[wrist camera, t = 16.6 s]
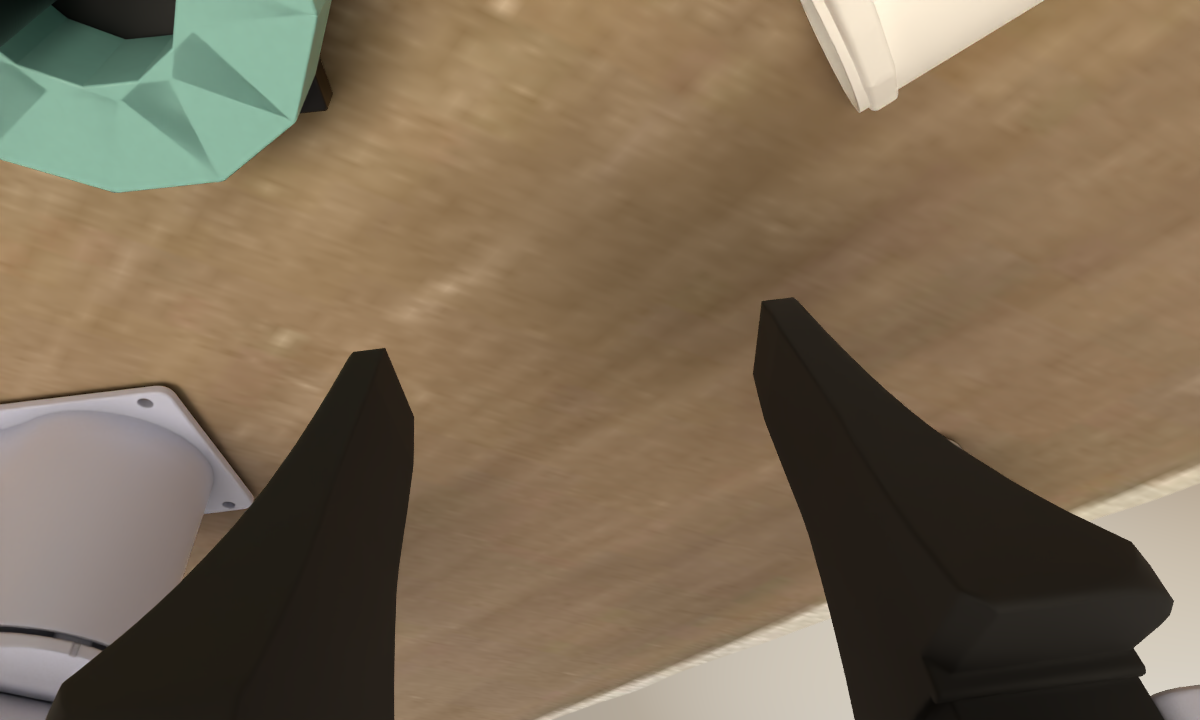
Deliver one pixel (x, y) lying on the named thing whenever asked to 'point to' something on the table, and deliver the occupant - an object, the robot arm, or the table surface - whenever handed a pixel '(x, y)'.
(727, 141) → the table surface
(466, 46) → the table surface
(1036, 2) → the knuckle duster
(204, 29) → the ring
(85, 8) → the stand
